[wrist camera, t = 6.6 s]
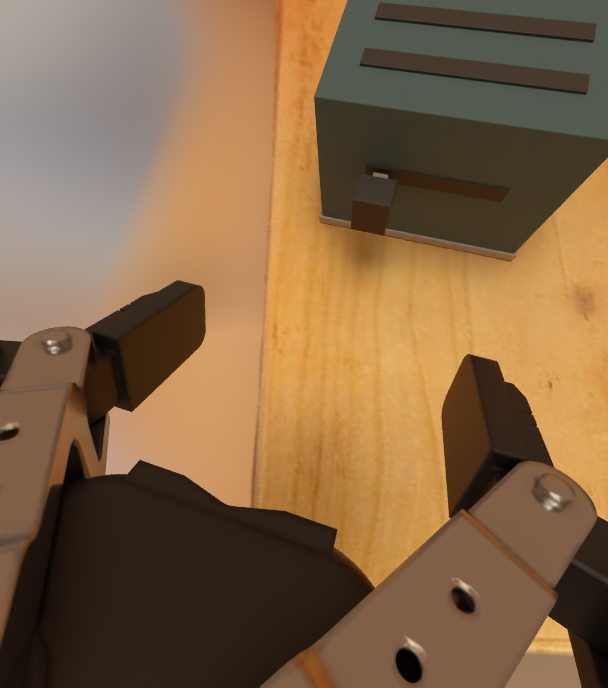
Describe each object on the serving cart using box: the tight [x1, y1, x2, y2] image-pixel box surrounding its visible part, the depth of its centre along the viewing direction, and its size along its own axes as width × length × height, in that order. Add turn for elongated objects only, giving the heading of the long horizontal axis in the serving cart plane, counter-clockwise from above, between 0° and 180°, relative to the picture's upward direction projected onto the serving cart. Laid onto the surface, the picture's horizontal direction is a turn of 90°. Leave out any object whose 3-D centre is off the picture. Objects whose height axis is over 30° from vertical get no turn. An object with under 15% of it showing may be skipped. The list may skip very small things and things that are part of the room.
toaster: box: [314, 0, 608, 261], centre depth 25 cm, size 10×16×12 cm, turn 74°
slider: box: [351, 172, 398, 235], centre depth 24 cm, size 3×2×3 cm
